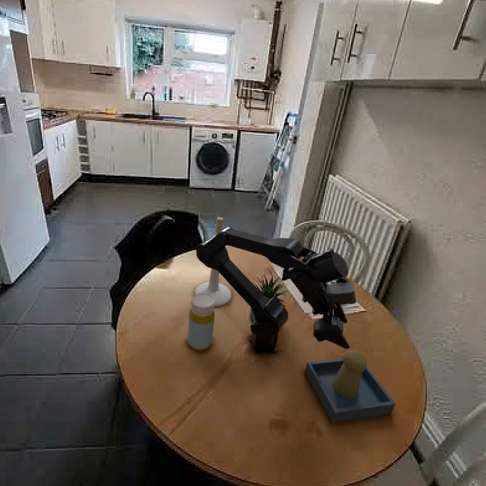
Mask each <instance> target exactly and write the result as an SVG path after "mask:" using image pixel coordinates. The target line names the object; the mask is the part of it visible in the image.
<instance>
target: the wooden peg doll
mask: <svg viewBox="0 0 486 486" xmlns="http://www.w3.org/2000/svg"><path fill="white" fill-rule="evenodd" d="M365 356H366V355H364V354H363V353H362V352H361V351H359V350H356V349H347V351H345V352H344V354H343V356H342V358H343V362H344V363H343V365H342V367H341V369H340V370H339V372H338V374H337V376H336V378H335V379H334V381H333V387H334V389H335V391H336V392H337V393H338V394H339V395H340V396H342V397H343V398H346V399H351V400H352V399H355V398H357V397H358V394H359V387H360V381H361V374H362V372H363V371H364V370H365V369H366V366H367V367H368V360H367V359H366V357H365Z"/></svg>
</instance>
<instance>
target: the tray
mask: <svg viewBox="0 0 486 486" xmlns="http://www.w3.org/2000/svg"><path fill="white" fill-rule="evenodd" d="M343 363H344V362H343V357H342V358H334V359H325V360H317V361H307V362H306V365H305V369H304V373H305V375H306V377H307V380H308V381H309V384H311V386H312V388H313V390H314V392H315V394H316V396H317V398H318V399H319V401H320V403H321V405H322V407H323V409H324V411H325V413H326V414H327V416H328V419H329V420H330V422H331V424H335V423H341V422H348V421H355V420H360V419H369V418H373V417H381V416H386V415H391V414H393V411H394V409H395V406H396V402H395V401H394V399H393V398H392V397H391V396H390V394H389V393H388V392H387V390H386V389H385V388H384V387H383V385H382V384H381V382H380V381H379V380H378V378H377V377H376V376H375V374H373V372H372V371H371V369H370V368H369V367H368V365H367V366H366V369H365V370H364V371H363V372H362V374H361V381H360V387H359V394H358V397H357V398H355V399H352V400H351V399H346V398H343V397H342V396H340V395H339V394H338V393H337V392H336V391H335V389H334V387H333V381H334V379H335V378H336V376H337V374H338V372H339V370H340V369H341V367H342V365H343Z"/></svg>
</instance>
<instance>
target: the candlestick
mask: <svg viewBox="0 0 486 486" xmlns="http://www.w3.org/2000/svg"><path fill="white" fill-rule="evenodd" d="M223 227H224V217H222V216H218V217H216V228H215V234H214V235H213V236H212V238H214V237H215V236H216V235H217V234H218V233H219V232H220V231H222V230H223ZM198 293H207V294H210V295H211V296H213V298H214V307H222V306H224V305H226V304H228V303H229V302H230V300H231V299H232V292H231V290H230V288H228V286H226V285H225V284H222V283H221V282H220V273H219V272H218V271H217V270H214V269H211V268H210V275H209V281H207V282H203V283H201V284H199V285H198V286H196V288H195V290H194V295H195V294H198Z"/></svg>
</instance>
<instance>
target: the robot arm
mask: <svg viewBox="0 0 486 486" xmlns="http://www.w3.org/2000/svg"><path fill="white" fill-rule="evenodd" d="M215 235H216V234H215ZM227 246H229V247H232V248H235V249H239V250H242V251H246V252H248V253H252V254H255V255H259V256H262V257H264V258H266V259H267V260H268V261H269V262H270V263H271V264H273V265H276V266H277V267H280V268H282V276H281V280H280V281H282V282H285V281H288V280H290V281H291V282H292V284H293V285H294V287H295V288H296V289H297V291H299V293H300V294H301V297H302V298H301V300H302V302H303V303H305V304H306V303H308V305H309V306H310V307H311V313H312V315H313V316H314V317H315V316H317V315H320V316H322V318H319V319H317V320H314V323H313V333H312V334H313V335H312V336H313V337H314V338H315V339H316V341H317V342H319V343H321V342H324V341H327V342H330V343H332V344H334V345H337V346H338V347H341V348H342V349H345V350H349V349H350V348H351V346H350V344H349V342H348V340H347V339H346V336H345V335H344V324H347V323H348V318H347V316H346V314H345V311H344V308H343V306H342V305H355V304H356V303H357V297H356V290H355V287H354V283H353V281H351V279H348V278H347V277H348V276H349V267H348V264H347V262H346V260H345V258H344V257H343V256H342V255H340V253H338V252H335V251H334V249H333V248H329V249H326V250H325V251H322V252H321V253H318V252H317V251H315V250H313V249H310V248H309V247H308V246H305V245H303V244H302V243H301V241H300V240H298V239H296V238H289V237H276V238H269V237H266V236H265V237H264V236H261V235H258V234H253V233H249V232H245V231H242V230H237V229H234V228H233V227H226V228H224V229H222V231H220V232H219V233H218V234H217V235H216V236H215V237H214V238H213V237H211V238H209V239H206V241H204V242H202V243H200V244H199V245H197V247H196V248H195V249H196V250H195V253H196V254H195V256H196V258H197V260H198V261H199V262H200V263H202V264H203V265H204V266H205V267H206V268H208V269H210V270H211V269H214V270H217V271H218V272H219V275H221V277H222V278H223V279H224V280H225V281H226V282H227V283H228V284H229V285H230V286H231V288H233V290H234V291H236V293H237V294H238V295H239V296H240V297H241V299H242V300H243V301H245V303H246V304H247V305H248V306H249V307H250V308H251V310H252V312H253V316H254V321H253V322H252V323H251V324H250V325H249V328H250V332H251V335H249V336H248V340H249V342H250V344H251V347H252V350H253V352H254V354H255V355H263V354H272V353H277V352H278V349H277V347H276V346H277V345H278V344H277V343H278V341H279V340H278V339H279V333H280V331H281V330H282V329H283V327H284V326H285V325H286V323H287V322H288V320H289V311H288V310H287V308H286V304H283V303H282V302H281V301H280V300H279V298H278V297H277V296H273V297H272V298H271V297H268V296H265V294H263V292H261V290H260V289H259V288H258V287H257V286H256V285H255V284H254V283H253V282H252V280H250V279H249V277H247V276H246V275H245V273H243V272H242V271H241V269H240V268H239V267H238V266H237V265H236V264H235V263H234V262H233V260H231V259H230V255H229V251H228V249H227V248H226V247H227Z"/></svg>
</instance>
